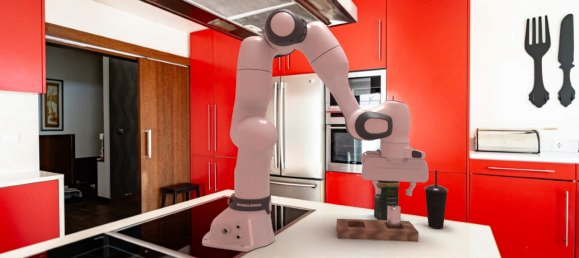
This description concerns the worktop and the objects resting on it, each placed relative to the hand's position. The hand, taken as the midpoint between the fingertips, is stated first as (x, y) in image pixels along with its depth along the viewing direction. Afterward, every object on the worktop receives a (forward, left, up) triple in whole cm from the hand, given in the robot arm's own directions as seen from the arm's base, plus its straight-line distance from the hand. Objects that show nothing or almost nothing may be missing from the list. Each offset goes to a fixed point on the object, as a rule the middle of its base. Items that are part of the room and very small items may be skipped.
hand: (393, 194), depth 97 cm
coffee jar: (+1, +17, -14) cm, 22 cm away
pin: (0, 0, -13) cm, 13 cm away
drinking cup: (+17, +12, -14) cm, 26 cm away
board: (-6, 0, -14) cm, 15 cm away
